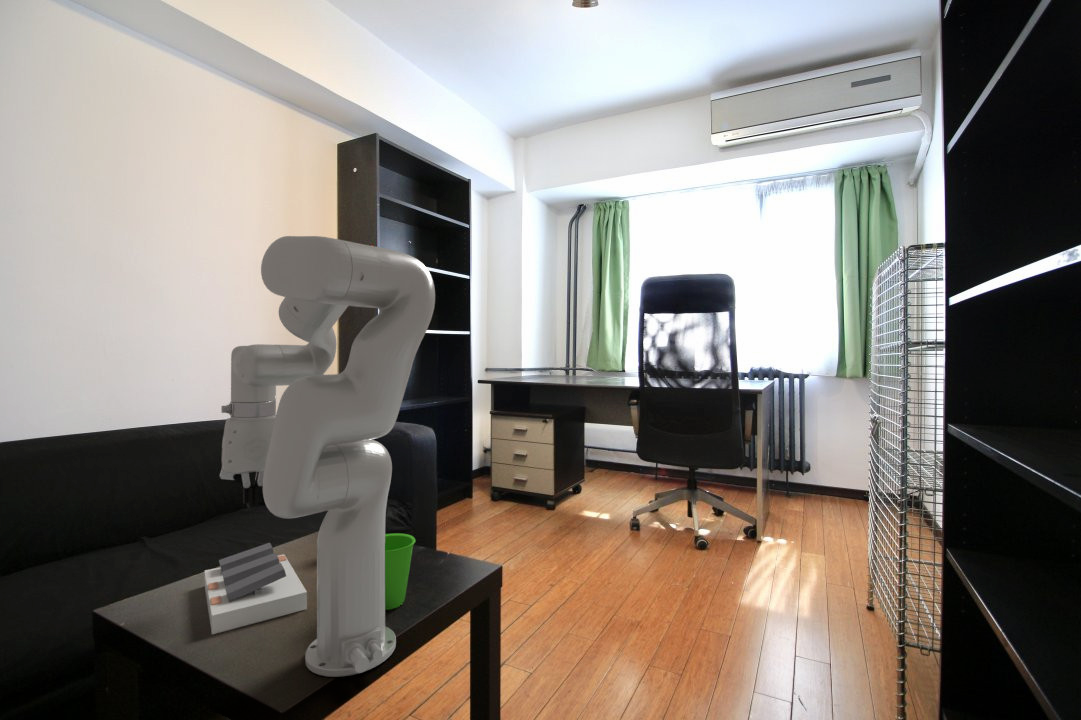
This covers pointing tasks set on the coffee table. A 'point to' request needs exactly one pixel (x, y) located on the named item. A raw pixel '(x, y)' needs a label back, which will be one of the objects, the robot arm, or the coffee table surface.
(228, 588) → the rocker near
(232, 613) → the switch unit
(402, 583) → the cup
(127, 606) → the coffee table surface
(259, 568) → the rocker middle
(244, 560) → the block
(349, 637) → the robot arm
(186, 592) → the coffee table surface
